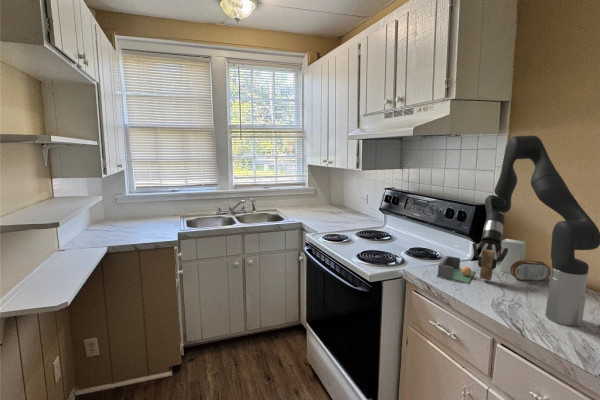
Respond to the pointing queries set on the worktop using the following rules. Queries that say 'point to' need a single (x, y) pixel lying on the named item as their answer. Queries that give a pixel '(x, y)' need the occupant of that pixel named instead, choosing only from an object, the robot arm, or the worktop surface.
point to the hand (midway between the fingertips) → (486, 267)
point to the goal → (452, 270)
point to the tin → (530, 270)
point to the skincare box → (512, 253)
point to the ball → (466, 271)
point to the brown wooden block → (486, 264)
